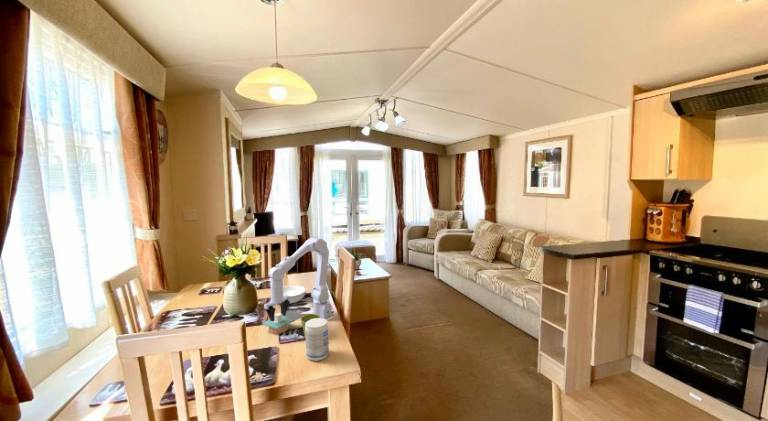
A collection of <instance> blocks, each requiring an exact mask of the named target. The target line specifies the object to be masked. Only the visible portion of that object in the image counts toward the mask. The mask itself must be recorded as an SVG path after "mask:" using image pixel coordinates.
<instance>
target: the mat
mask: <svg viewBox="0 0 768 421" xmlns="http://www.w3.org/2000/svg"><path fill="white" fill-rule="evenodd" d="M305 315H306V314H304V313H300V312H296V311H293V310H288V309H287V311H286V316H284V317H288V318H291V319H294V321H293V322H295V321H297V320H299V319H301V317H303V316H305ZM282 316H283V315H282Z"/></svg>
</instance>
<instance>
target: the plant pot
mask: <svg viewBox="0 0 768 421" xmlns="http://www.w3.org/2000/svg"><path fill="white" fill-rule="evenodd" d="M304 315H305V316H303V317H301V318H299V319H300V322H301V324H302V330H303V336H304V337H305V338H306V336H305V324H306V322H307V321H309V320H311V319H315V318H320V316H319V315H317V314H314V313H310V314H309V313H308V314H304Z"/></svg>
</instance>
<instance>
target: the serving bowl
mask: <svg viewBox="0 0 768 421" xmlns="http://www.w3.org/2000/svg"><path fill="white" fill-rule="evenodd" d="M306 290H307V289H306V288H305V287H304V286H301V285H283V296H286V295H288V296H290V300H288V301H290V304H294V303H298V302H300V301H301V300H302V299H303V298H304V297H305V295H306V292H307V291H306ZM269 294H270V295H271V291H270V293H269Z"/></svg>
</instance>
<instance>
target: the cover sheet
mask: <svg viewBox="0 0 768 421" xmlns="http://www.w3.org/2000/svg"><path fill="white" fill-rule="evenodd" d="M293 322H295V321H294V319H291V318H288V317H284V316H282V314H281V312H277V313H275V314H274V321H270V318H269V319H267V320H266V321H263V322H261V325H263V326H265V327H268V328H269V327H271V328H274V329H279V328H281V327H283V326H285V325H287V324H288V325H289V324H291V323H293Z"/></svg>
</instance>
